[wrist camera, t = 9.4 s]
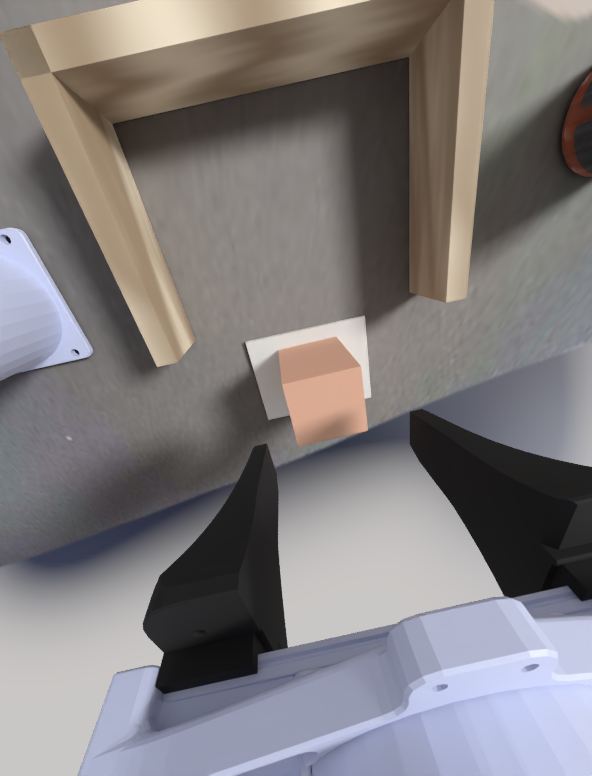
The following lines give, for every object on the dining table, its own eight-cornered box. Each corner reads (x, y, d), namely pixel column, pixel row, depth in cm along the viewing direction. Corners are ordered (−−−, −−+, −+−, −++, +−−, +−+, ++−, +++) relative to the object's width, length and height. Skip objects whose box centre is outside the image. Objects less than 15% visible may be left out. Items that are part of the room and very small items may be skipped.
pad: (268, 418, 23) (268, 420, 23) (245, 341, 20) (245, 342, 20) (369, 395, 23) (371, 397, 23) (363, 315, 20) (364, 316, 20)
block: (290, 400, 22) (298, 446, 17) (277, 350, 20) (282, 384, 15) (343, 388, 22) (367, 430, 17) (336, 336, 20) (360, 366, 15)
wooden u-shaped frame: (179, 343, 20) (157, 367, 16) (77, 97, 14) (-3, 32, 10) (425, 288, 20) (466, 298, 16) (432, 17, 14) (502, -82, 10)
